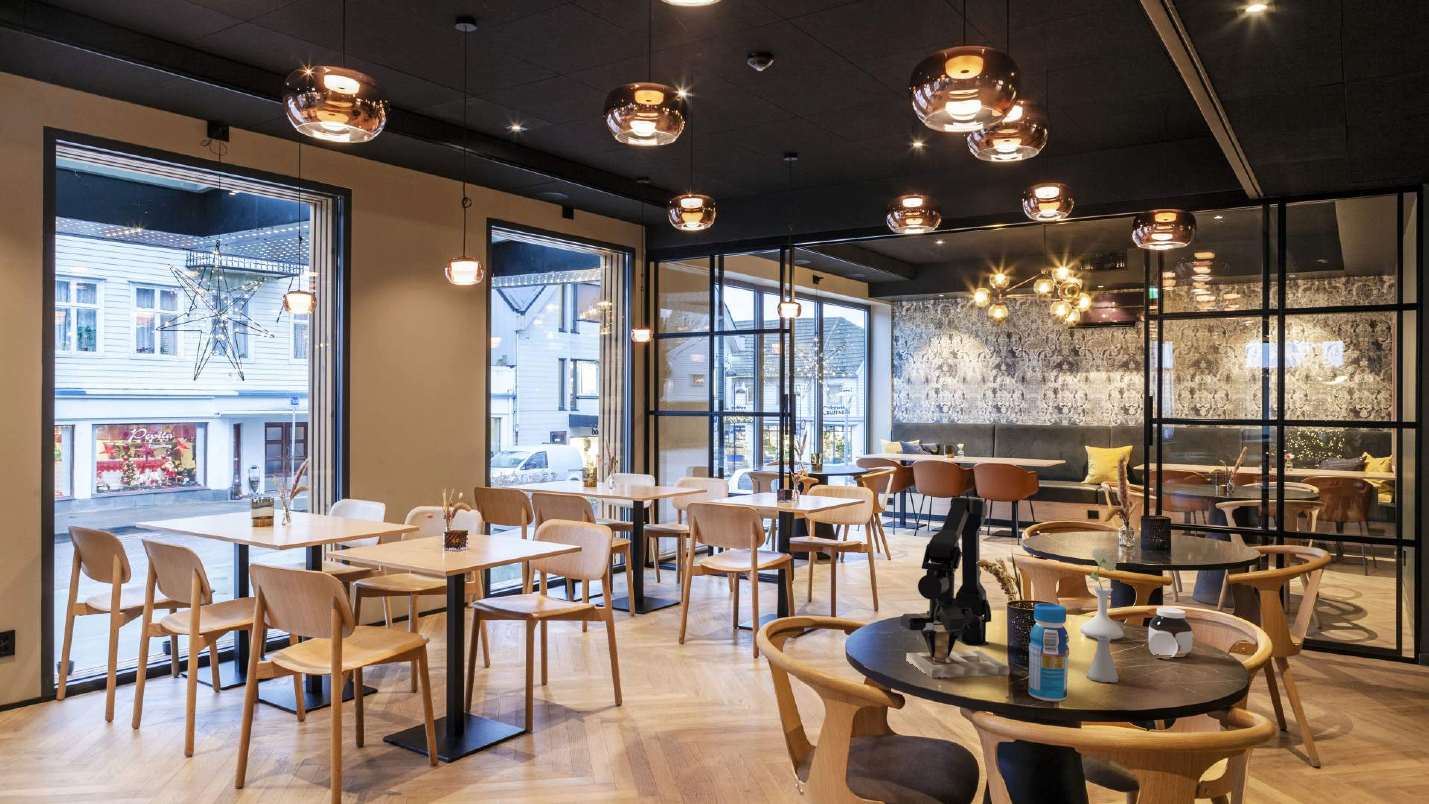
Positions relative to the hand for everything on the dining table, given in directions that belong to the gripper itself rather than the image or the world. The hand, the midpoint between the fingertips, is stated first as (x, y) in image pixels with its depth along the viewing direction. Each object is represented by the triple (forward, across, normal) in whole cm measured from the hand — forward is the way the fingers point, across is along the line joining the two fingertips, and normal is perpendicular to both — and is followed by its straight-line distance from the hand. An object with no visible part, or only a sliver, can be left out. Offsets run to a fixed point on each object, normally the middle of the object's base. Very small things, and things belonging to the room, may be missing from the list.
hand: (939, 656), depth 225 cm
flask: (+3, +36, -13) cm, 38 cm away
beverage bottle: (+3, +14, -23) cm, 27 cm away
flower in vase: (+3, +60, +23) cm, 65 cm away
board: (+3, +4, 0) cm, 5 cm away
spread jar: (+3, +66, +3) cm, 67 cm away
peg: (+3, 0, 0) cm, 3 cm away
